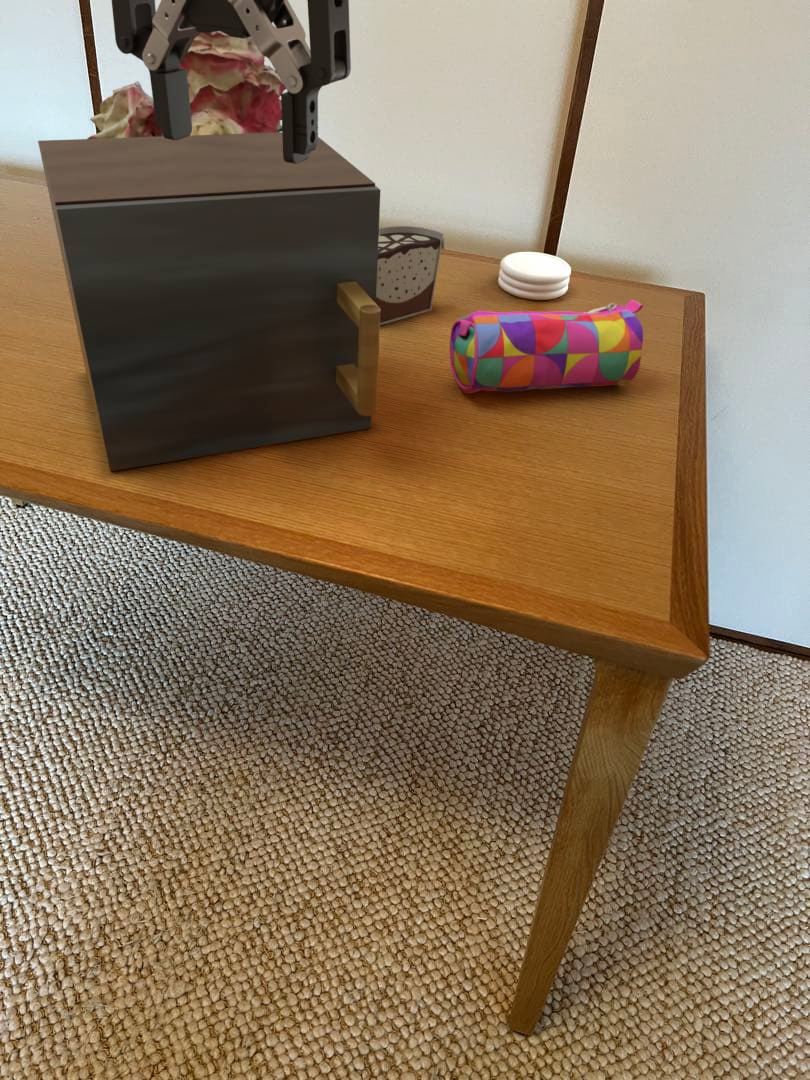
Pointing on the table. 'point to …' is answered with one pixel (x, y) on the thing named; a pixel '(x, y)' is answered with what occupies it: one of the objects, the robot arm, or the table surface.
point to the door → (226, 318)
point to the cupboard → (181, 174)
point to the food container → (406, 271)
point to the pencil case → (546, 349)
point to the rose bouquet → (205, 94)
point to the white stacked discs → (534, 275)
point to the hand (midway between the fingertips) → (236, 148)
